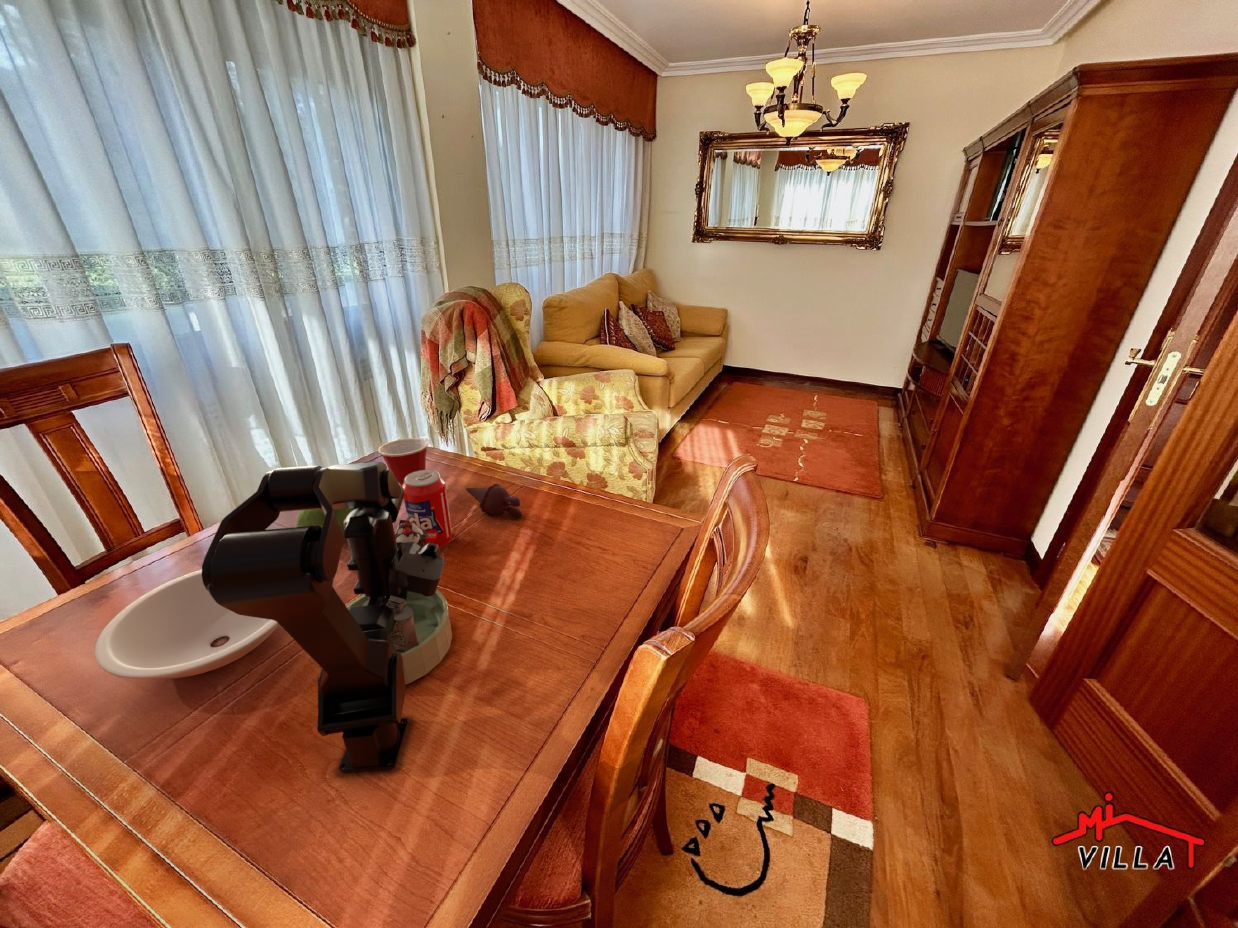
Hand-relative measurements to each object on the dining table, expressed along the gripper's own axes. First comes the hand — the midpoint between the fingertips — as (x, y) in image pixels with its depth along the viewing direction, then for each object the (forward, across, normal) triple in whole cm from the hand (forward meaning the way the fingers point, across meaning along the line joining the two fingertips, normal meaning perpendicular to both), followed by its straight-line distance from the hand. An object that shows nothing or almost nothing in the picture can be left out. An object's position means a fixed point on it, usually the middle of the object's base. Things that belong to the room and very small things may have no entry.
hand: (393, 631), depth 75 cm
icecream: (+4, +39, -10) cm, 40 cm away
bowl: (+3, 0, 0) cm, 3 cm away
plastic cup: (+4, +50, +11) cm, 51 cm away
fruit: (+4, +31, +20) cm, 37 cm away
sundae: (+4, +15, +1) cm, 15 cm away
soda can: (+4, +28, +1) cm, 28 cm away
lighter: (+3, 0, 0) cm, 3 cm away
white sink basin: (+4, +3, +27) cm, 27 cm away
